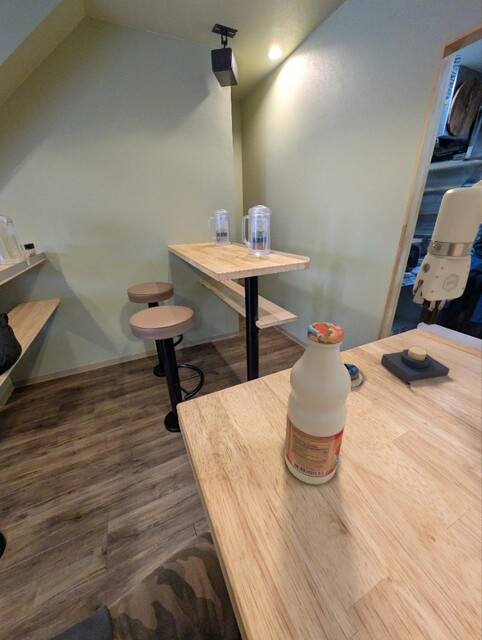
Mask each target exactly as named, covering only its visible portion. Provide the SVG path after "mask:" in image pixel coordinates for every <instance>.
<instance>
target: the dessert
mask: <svg viewBox="0 0 482 640" xmlns="http://www.w3.org/2000/svg"><path fill="white" fill-rule="evenodd" d="M343 365H344V366H345V367H346V368H347V370H348V372H349V374H350V377H351V388H355V387H357V386H359V385H360V384H361V383H362V382H363V379H364V378H363V376H362V374H361V373H360V370H359V367H357V365H355V364H352V363H346V362H344V363H343Z"/></svg>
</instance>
